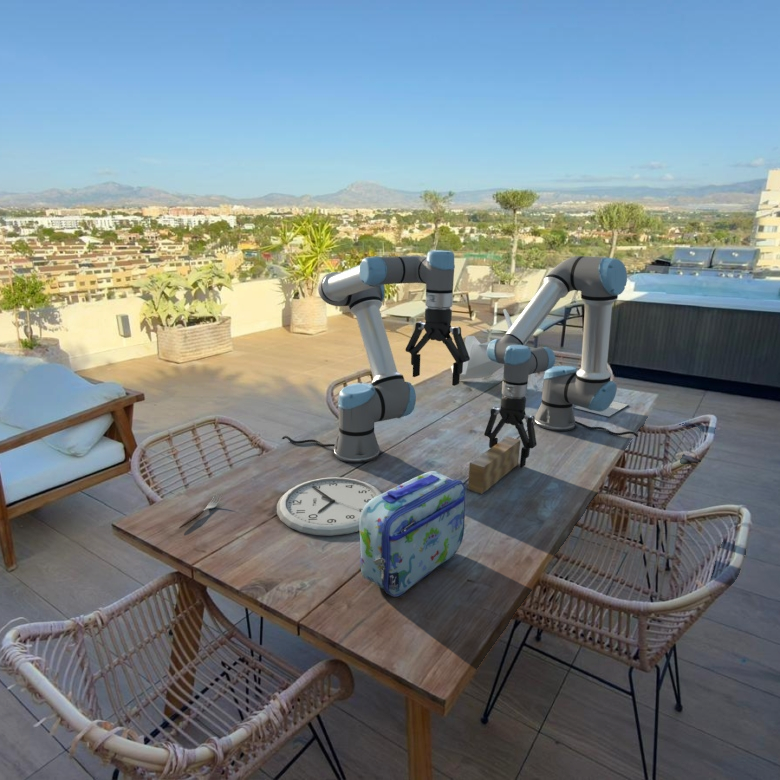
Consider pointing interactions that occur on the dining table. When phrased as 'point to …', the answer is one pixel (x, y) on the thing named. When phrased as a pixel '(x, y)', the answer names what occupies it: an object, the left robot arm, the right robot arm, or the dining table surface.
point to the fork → (209, 506)
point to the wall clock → (326, 505)
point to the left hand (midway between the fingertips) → (435, 380)
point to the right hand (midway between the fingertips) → (507, 461)
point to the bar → (493, 464)
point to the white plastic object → (483, 359)
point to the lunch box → (411, 531)
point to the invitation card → (609, 411)
